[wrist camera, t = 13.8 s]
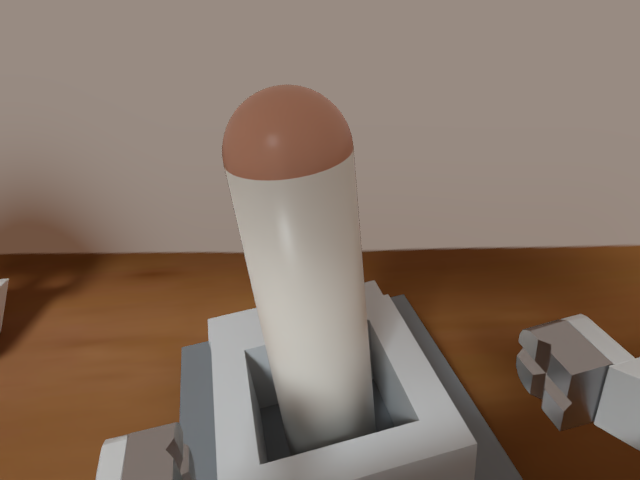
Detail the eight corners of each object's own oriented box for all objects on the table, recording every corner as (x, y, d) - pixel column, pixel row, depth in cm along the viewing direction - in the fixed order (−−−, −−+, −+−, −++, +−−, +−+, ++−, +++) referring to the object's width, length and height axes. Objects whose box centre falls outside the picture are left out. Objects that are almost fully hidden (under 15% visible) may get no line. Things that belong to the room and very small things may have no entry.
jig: (604, 641, 16) (643, 556, 13) (183, 795, 14) (122, 734, 11) (404, 312, 31) (402, 240, 28) (188, 365, 29) (163, 294, 27)
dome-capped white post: (271, 449, 22) (180, 99, 14) (328, 393, 24) (280, 67, 16) (337, 502, 20) (275, 115, 11) (394, 435, 22) (376, 74, 14)
